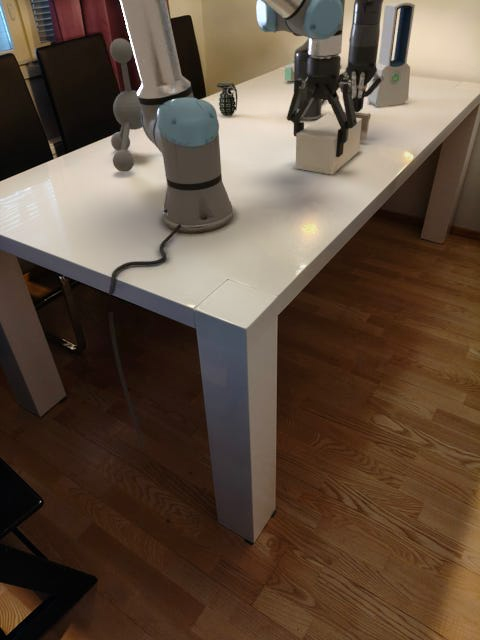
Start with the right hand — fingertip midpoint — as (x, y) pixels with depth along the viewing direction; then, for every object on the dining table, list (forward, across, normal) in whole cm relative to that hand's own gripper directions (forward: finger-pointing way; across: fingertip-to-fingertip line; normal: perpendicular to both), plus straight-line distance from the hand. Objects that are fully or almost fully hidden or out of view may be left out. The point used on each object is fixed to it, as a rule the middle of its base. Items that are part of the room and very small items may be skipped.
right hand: (356, 111), depth 139 cm
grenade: (+8, +48, -6) cm, 49 cm away
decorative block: (+9, +46, -68) cm, 82 cm away
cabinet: (+8, 0, +20) cm, 21 cm away
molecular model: (+8, +47, +39) cm, 61 cm away
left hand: (+3, 0, +26) cm, 26 cm away
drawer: (+6, 0, +9) cm, 11 cm away
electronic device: (+8, +4, -40) cm, 41 cm away
